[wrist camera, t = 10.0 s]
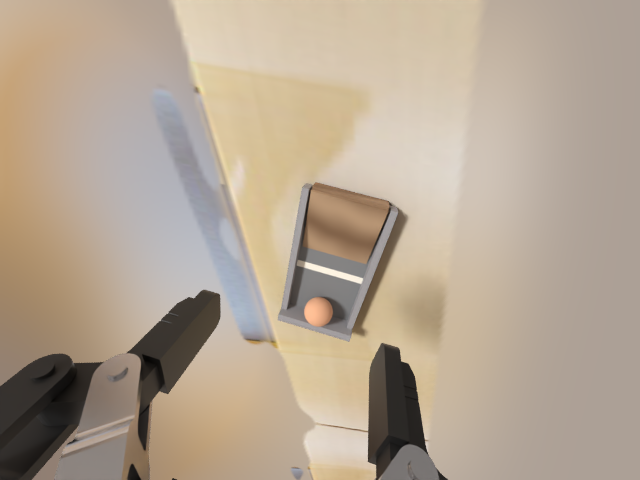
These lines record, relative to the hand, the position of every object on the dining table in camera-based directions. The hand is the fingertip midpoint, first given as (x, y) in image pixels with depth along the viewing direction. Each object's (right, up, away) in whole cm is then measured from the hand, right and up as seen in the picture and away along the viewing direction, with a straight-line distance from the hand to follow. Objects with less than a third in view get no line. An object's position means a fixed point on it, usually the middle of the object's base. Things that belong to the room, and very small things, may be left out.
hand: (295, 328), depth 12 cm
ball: (+1, -6, +22) cm, 23 cm away
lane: (+3, +1, +21) cm, 21 cm away
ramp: (+4, +6, +18) cm, 20 cm away
